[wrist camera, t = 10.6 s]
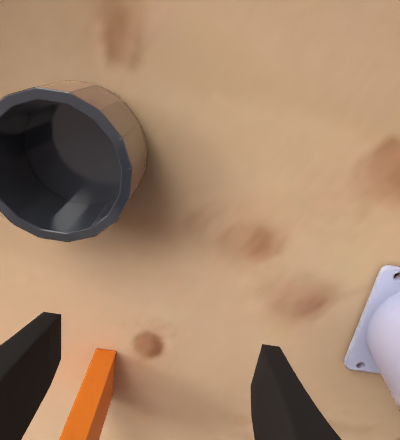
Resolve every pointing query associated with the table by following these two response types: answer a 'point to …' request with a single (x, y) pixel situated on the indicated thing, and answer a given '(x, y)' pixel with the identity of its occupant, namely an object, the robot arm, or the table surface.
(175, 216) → the table surface
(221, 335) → the table surface
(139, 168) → the cup
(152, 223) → the table surface
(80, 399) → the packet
